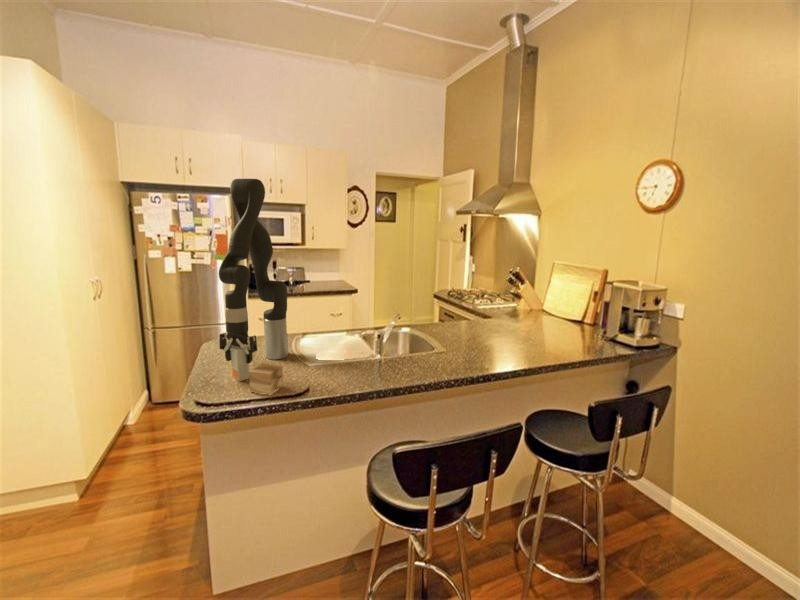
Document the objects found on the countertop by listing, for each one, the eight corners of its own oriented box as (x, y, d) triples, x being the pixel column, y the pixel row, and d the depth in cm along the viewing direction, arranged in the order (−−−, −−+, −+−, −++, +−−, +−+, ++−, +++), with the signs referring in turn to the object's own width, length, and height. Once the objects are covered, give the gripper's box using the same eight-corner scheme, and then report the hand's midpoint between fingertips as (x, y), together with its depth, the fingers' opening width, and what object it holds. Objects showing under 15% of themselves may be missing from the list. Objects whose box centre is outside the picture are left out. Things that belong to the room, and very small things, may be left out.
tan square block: (263, 373, 145) (262, 363, 144) (282, 376, 143) (282, 365, 142) (249, 382, 137) (248, 371, 136) (270, 385, 135) (269, 374, 134)
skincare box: (231, 376, 150) (229, 346, 148) (243, 374, 153) (241, 344, 151) (238, 381, 146) (236, 350, 144) (249, 378, 149) (248, 348, 147)
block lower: (263, 384, 145) (262, 373, 144) (283, 386, 143) (282, 376, 143) (250, 393, 138) (249, 382, 137) (270, 396, 136) (270, 385, 135)
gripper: (260, 318, 147) (261, 360, 150) (226, 315, 150) (229, 356, 153) (247, 323, 140) (249, 367, 143) (213, 319, 143) (215, 362, 146)
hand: (239, 361), depth 148 cm, fingers open, 8 cm apart
